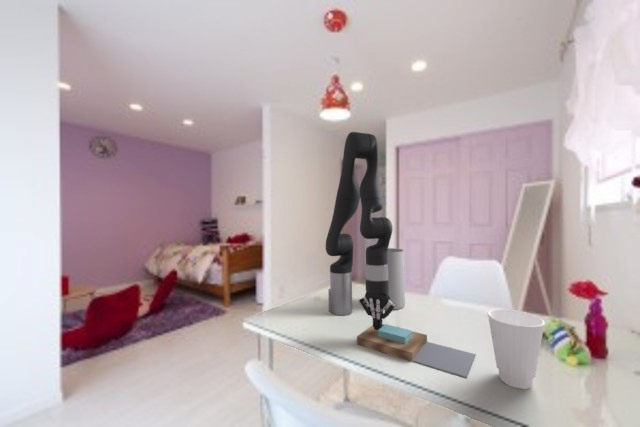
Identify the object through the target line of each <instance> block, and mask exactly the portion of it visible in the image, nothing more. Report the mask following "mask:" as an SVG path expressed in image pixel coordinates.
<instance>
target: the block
mask: <svg viewBox="0 0 640 427" xmlns="http://www.w3.org/2000/svg"><path fill="white" fill-rule="evenodd" d="M384 325H385V324H383V323H382V327H383V326H384ZM426 342H428V335H427V334H424V333H421V332H416V331H413V330H412V337H411V338H410V340H409V341H408V342H407V343H406V344H404V343H400V342H396V341H393V340H389V339H385V338H382V337H378V330H375V329H374V327H373V324H372V325H370V326H369V327H368V328H367V329H365V330H364V331H362V332H361V333H360V334H359V335H357V336H356V345H358V346H361V347H365V348H368V349H371V350H374V351H378V352H381V353H383V354H388V355H389V356H390V355H391V356H393V357H397V358H400V359H403V360H407V361H410V362H413V361H412V360H413V359H414V358H415V356H416V355H417V354H418V353H419V351H420V350H421V349H422V348H423V346H424V345H425V344H426Z"/></svg>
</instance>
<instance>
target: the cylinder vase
mask: <svg viewBox="0 0 640 427" xmlns="http://www.w3.org/2000/svg"><path fill="white" fill-rule="evenodd" d="M387 265H388V275H389V278H388V281H389V292H388V294H389V297H390V301H391V302H392V303H395V304H396V307H395V308H394V309H393V311H395V310H396V311H397V310H401V309H403V308H405V305H406V297H405V296H406V291H405V290H406V286H405V284H406V283H405V281H406V280H405V279H406V278H405V250H404V249H401V248H395V247H394V248H393V247H391V248H390V247H388V251H387ZM387 305H388V303H387ZM387 305H386V306H385V307H384V310H387V309H388V308H387Z"/></svg>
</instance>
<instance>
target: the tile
mask: <svg viewBox="0 0 640 427" xmlns="http://www.w3.org/2000/svg"><path fill="white" fill-rule="evenodd" d="M412 331H413V330H411V329H407V328H403V327H399V326H396V325H395V326H394V325H391V324H387V323H385V324H384V326H383V327H381V328H380V329H379V330H378V337H382V338H385V339H389V340H393V341H396V342H400V343H404V344H406V343H407V342H408V341H409V340H410V338H411V337H412Z"/></svg>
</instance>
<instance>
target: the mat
mask: <svg viewBox="0 0 640 427" xmlns="http://www.w3.org/2000/svg"><path fill="white" fill-rule="evenodd" d="M476 356H477V354H476V353H472V352H469V351H465V350H460V349H457V348H452V347H448V346H446V345H441V344H438V343H434V342H429V341H427V342H426V344H425V345H424V346H423V348H422V349H421V350H420V351H419V353H418V354H417V355H416V356H415V358H414V359H413V360H412V361H411V362H412V363H416V364H419V365H422V366H427V367H430V368H433V369H434V370H435V369H436V370H440V371H441V372H442V371H443V372H446V373H449V374H452V375H455V376H458V377H462V378H465V379H468V376H469V373H470V371H471V368H472V365H473V363H474V361H475V358H476Z"/></svg>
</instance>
